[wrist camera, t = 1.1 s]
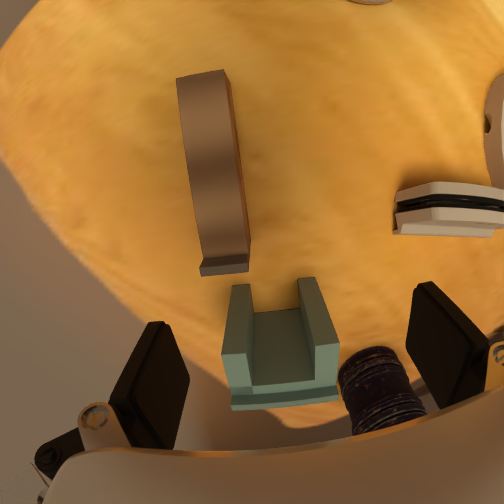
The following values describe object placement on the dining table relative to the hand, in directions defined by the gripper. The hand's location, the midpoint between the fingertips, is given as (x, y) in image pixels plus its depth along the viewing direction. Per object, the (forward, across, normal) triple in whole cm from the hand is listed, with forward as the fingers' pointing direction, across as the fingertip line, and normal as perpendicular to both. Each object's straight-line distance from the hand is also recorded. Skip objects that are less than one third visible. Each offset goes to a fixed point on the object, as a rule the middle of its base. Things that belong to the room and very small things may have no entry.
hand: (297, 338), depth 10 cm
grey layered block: (+22, -22, +2) cm, 31 cm away
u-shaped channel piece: (+21, +1, +11) cm, 24 cm away
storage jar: (+22, -11, +26) cm, 36 cm away
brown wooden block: (+21, +4, -6) cm, 22 cm away
